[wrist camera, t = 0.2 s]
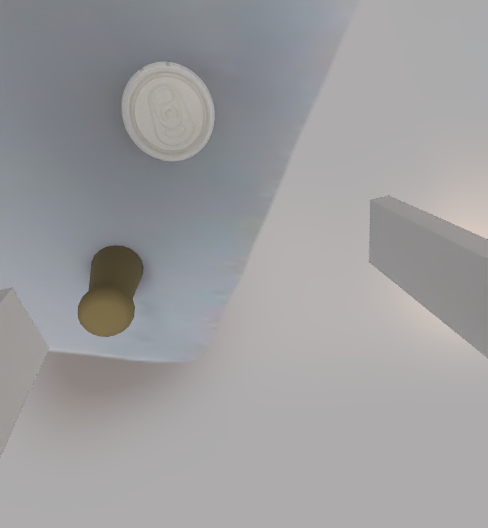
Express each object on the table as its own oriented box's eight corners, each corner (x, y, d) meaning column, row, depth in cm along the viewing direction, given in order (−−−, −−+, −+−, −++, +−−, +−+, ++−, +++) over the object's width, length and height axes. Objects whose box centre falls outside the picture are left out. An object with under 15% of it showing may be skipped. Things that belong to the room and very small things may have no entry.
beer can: (150, 146, 35) (143, 176, 22) (125, 83, 32) (101, 76, 19) (204, 129, 36) (228, 148, 23) (184, 65, 33) (199, 46, 20)
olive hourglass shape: (120, 236, 39) (107, 281, 30) (153, 271, 42) (151, 323, 32) (79, 264, 40) (53, 318, 30) (115, 297, 42) (101, 356, 33)
